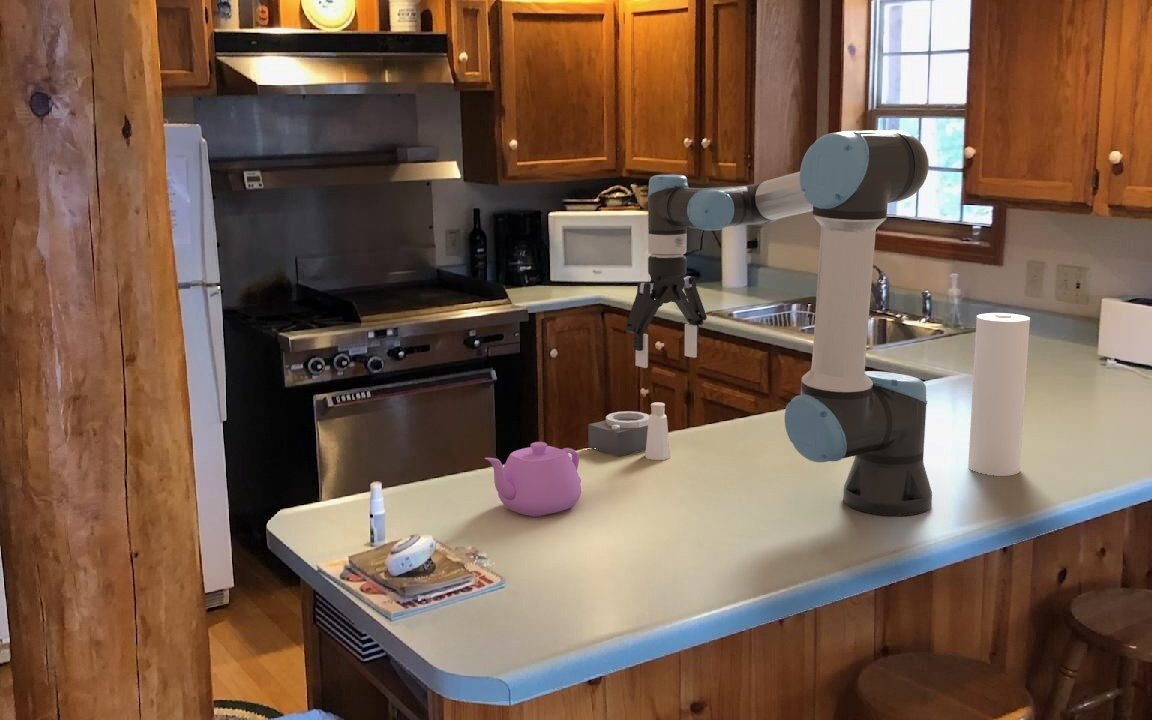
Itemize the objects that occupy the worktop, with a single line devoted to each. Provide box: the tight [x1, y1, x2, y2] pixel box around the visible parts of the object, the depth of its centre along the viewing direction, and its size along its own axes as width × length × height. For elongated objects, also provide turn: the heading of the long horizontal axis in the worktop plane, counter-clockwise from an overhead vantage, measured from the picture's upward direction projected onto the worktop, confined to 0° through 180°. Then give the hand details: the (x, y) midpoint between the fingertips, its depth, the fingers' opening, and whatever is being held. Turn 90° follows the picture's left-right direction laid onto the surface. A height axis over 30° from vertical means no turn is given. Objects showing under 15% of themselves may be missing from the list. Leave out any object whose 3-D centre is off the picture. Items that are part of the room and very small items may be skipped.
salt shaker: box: [644, 402, 671, 461], centre depth 239 cm, size 5×5×11 cm
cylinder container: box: [967, 312, 1031, 477], centre depth 226 cm, size 9×9×30 cm
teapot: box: [484, 441, 582, 518], centre depth 208 cm, size 20×13×12 cm, turn 128°
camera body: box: [587, 410, 669, 458], centre depth 247 cm, size 14×9×6 cm, turn 130°
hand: (666, 361), depth 237 cm, fingers open, 13 cm apart
